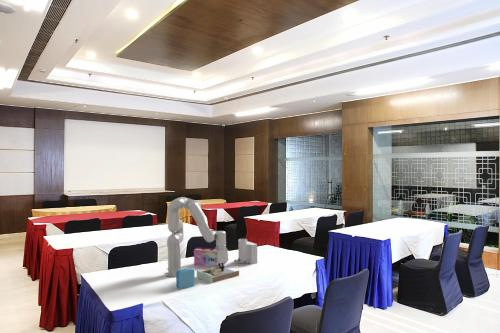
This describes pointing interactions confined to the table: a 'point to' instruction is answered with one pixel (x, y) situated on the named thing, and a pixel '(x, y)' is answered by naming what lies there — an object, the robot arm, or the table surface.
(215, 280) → the box
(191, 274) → the data package
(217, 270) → the maple block
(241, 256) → the control panel
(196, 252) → the gum box
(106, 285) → the table surface
